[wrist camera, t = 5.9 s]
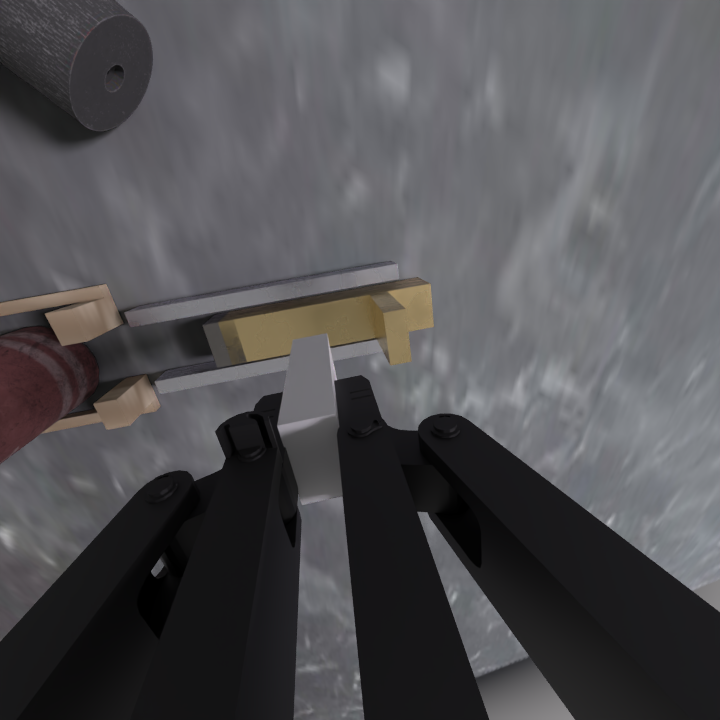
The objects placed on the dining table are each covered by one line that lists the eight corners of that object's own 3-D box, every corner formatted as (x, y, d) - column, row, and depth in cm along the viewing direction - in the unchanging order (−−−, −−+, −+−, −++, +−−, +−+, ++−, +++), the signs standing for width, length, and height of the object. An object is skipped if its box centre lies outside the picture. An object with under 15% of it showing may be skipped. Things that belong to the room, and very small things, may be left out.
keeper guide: (139, 305, 23) (124, 312, 22) (391, 261, 24) (397, 263, 22) (171, 382, 26) (159, 394, 24) (400, 338, 26) (406, 346, 25)
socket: (-64, 313, 22) (-141, 331, 18) (106, 284, 23) (64, 295, 19) (16, 434, 26) (-35, 468, 22) (160, 406, 26) (134, 435, 23)
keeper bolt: (215, 313, 24) (170, 352, 17) (417, 277, 25) (459, 298, 17) (228, 352, 25) (191, 403, 18) (421, 316, 26) (462, 351, 19)
